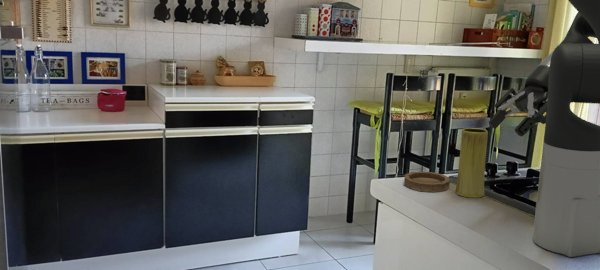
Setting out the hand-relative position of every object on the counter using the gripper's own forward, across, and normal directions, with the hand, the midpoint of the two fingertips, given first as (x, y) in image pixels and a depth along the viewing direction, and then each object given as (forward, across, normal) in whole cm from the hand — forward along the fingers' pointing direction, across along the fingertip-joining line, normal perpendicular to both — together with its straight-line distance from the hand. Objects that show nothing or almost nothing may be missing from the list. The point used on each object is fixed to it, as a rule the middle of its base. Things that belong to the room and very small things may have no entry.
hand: (504, 129), depth 109 cm
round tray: (+19, -8, 0) cm, 21 cm away
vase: (+15, 0, +5) cm, 16 cm away
